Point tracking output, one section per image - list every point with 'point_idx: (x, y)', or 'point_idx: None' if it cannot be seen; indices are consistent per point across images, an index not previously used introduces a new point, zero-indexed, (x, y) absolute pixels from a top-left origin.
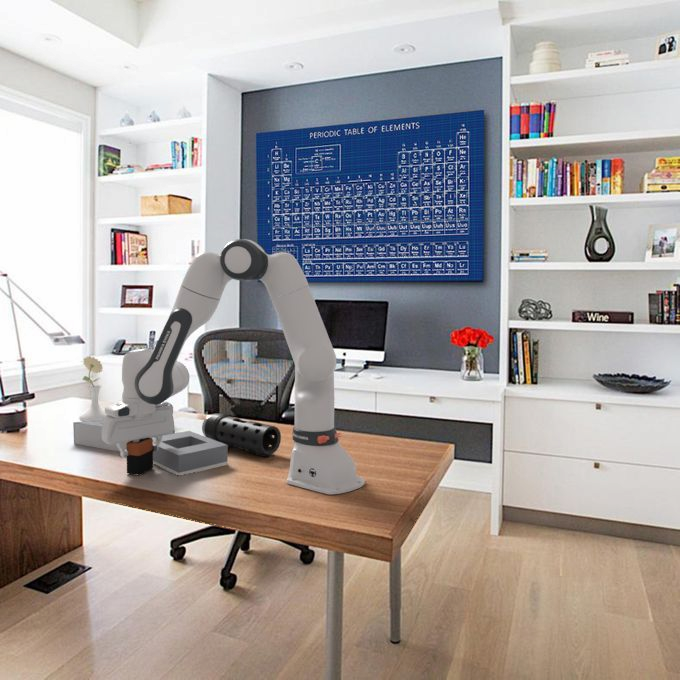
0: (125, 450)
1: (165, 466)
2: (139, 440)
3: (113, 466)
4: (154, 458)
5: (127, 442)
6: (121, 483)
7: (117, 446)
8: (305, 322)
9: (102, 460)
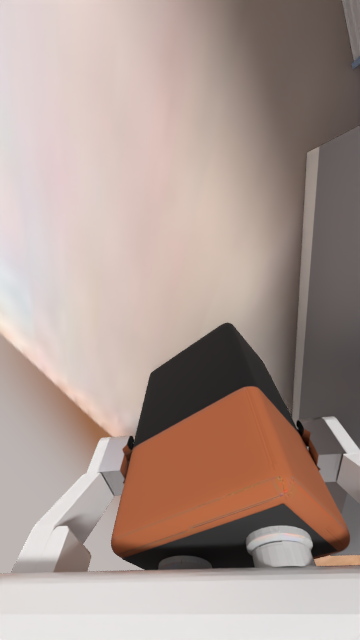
0: (117, 485)
1: (300, 404)
2: (217, 561)
3: (111, 232)
4: (314, 325)
5: (116, 553)
6: (118, 435)
7: (50, 515)
8: None
9: (44, 12)
